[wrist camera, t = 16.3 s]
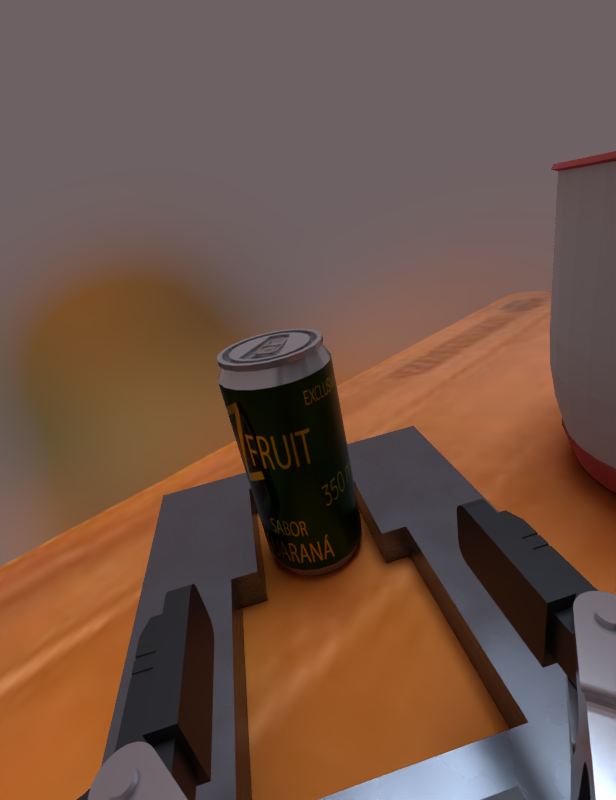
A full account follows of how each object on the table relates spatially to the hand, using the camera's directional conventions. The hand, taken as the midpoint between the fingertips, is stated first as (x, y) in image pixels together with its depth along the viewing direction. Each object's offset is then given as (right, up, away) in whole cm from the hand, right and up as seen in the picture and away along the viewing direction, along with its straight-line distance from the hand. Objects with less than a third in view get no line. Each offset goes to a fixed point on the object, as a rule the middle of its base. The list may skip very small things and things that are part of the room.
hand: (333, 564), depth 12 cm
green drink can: (0, -4, +11) cm, 12 cm away
